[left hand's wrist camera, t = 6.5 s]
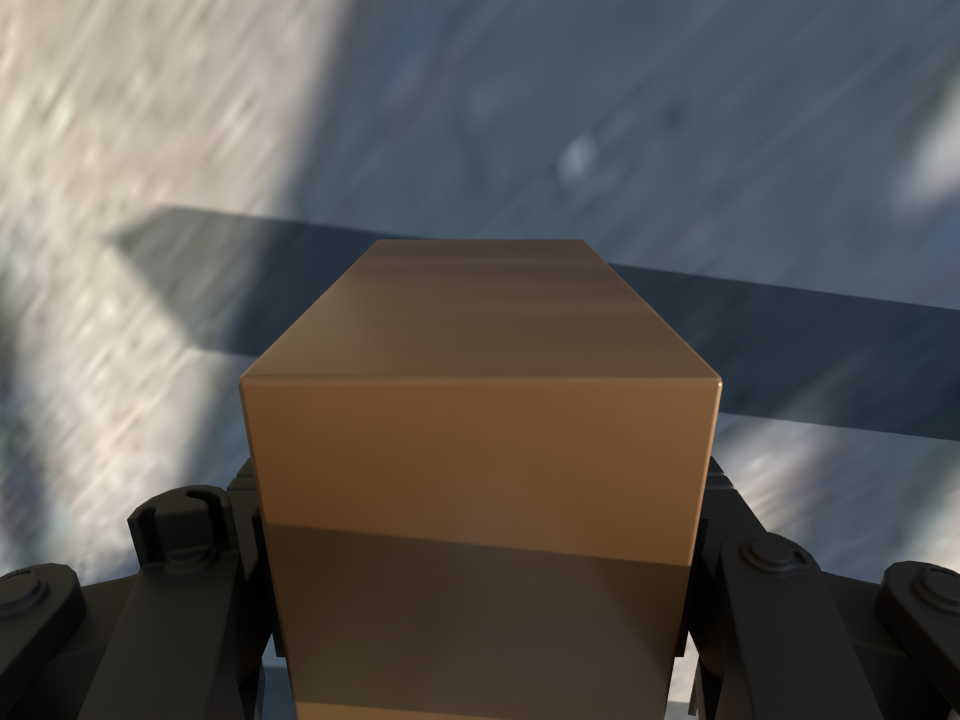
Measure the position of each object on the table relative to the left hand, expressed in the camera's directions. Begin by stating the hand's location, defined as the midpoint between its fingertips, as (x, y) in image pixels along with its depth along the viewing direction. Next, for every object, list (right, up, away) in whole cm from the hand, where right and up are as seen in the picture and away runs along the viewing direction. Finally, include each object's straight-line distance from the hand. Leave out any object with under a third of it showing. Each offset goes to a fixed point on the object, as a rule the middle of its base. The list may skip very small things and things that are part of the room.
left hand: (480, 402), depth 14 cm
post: (0, -23, +10) cm, 25 cm away
